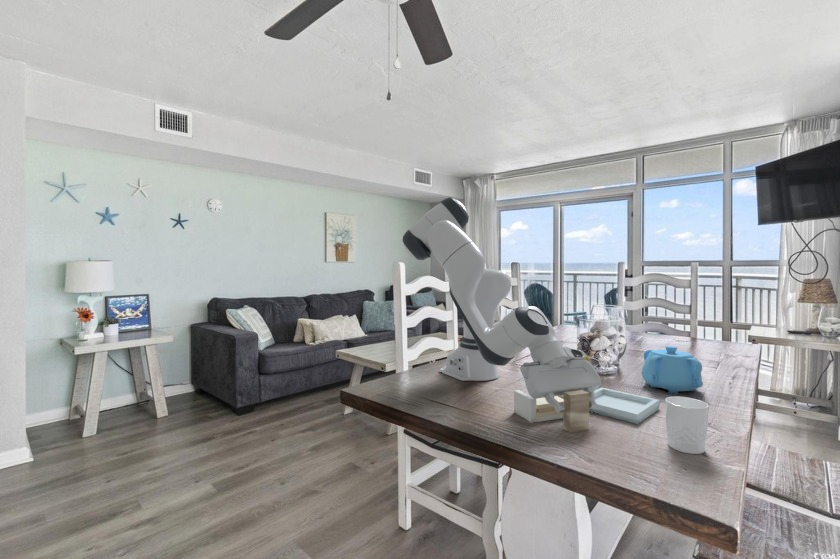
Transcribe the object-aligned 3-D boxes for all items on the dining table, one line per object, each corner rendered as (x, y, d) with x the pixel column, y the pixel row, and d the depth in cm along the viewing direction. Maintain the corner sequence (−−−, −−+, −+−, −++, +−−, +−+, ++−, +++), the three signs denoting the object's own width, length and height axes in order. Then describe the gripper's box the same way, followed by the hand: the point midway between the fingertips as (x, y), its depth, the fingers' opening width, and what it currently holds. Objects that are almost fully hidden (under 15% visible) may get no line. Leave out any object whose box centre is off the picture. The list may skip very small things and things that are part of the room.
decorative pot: (699, 385, 133) (699, 344, 133) (704, 399, 119) (704, 353, 119) (642, 379, 141) (643, 340, 141) (641, 391, 127) (642, 348, 127)
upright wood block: (563, 428, 98) (563, 392, 98) (581, 425, 100) (581, 389, 99) (570, 432, 96) (570, 395, 95) (588, 429, 97) (589, 392, 97)
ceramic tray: (576, 407, 112) (576, 399, 112) (601, 395, 123) (601, 387, 123) (637, 424, 100) (637, 414, 100) (659, 408, 111) (659, 399, 111)
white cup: (663, 449, 86) (664, 403, 86) (665, 436, 93) (666, 394, 93) (708, 459, 82) (709, 411, 82) (707, 445, 89) (708, 400, 88)
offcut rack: (514, 412, 109) (514, 390, 109) (562, 405, 114) (562, 384, 114) (531, 422, 102) (531, 399, 101) (582, 414, 107) (582, 392, 107)
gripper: (522, 356, 100) (546, 408, 91) (588, 350, 107) (617, 398, 98) (513, 370, 105) (535, 420, 96) (577, 363, 111) (603, 410, 102)
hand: (577, 409), depth 97 cm, fingers open, 8 cm apart
